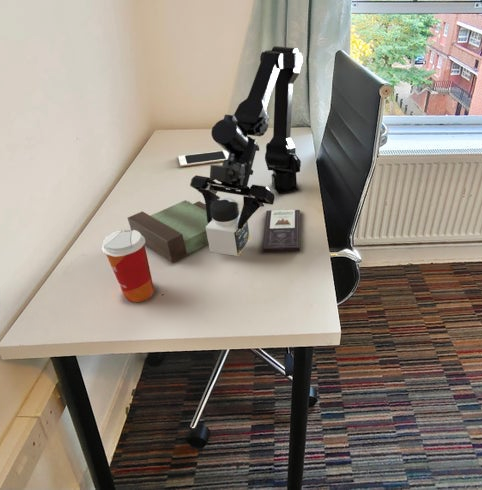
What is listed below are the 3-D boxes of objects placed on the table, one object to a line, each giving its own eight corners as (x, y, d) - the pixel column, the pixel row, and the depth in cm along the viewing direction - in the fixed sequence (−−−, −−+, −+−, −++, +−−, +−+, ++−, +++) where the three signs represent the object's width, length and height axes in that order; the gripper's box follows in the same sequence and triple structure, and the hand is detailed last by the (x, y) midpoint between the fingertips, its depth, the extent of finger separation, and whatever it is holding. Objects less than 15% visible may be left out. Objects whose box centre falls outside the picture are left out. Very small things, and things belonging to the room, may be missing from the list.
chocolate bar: (262, 248, 106) (266, 210, 120) (262, 252, 106) (266, 213, 121) (299, 247, 106) (299, 209, 121) (300, 250, 107) (299, 212, 122)
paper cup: (127, 282, 96) (108, 228, 88) (163, 281, 96) (148, 227, 88) (114, 307, 89) (93, 251, 81) (153, 305, 90) (136, 250, 82)
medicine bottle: (238, 256, 102) (231, 212, 95) (209, 252, 103) (201, 208, 96) (250, 239, 107) (244, 196, 100) (223, 235, 108) (215, 192, 101)
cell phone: (178, 157, 148) (178, 155, 148) (226, 151, 154) (226, 149, 154) (180, 167, 143) (180, 165, 142) (231, 160, 148) (230, 158, 148)
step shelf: (200, 207, 123) (196, 188, 119) (239, 227, 115) (236, 207, 112) (133, 238, 109) (127, 217, 106) (172, 263, 102) (167, 241, 98)
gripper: (186, 142, 96) (167, 210, 94) (265, 153, 93) (247, 224, 91) (210, 160, 107) (194, 222, 105) (281, 171, 104) (266, 235, 101)
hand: (223, 225), depth 100 cm, fingers closed on medicine bottle, 7 cm apart
